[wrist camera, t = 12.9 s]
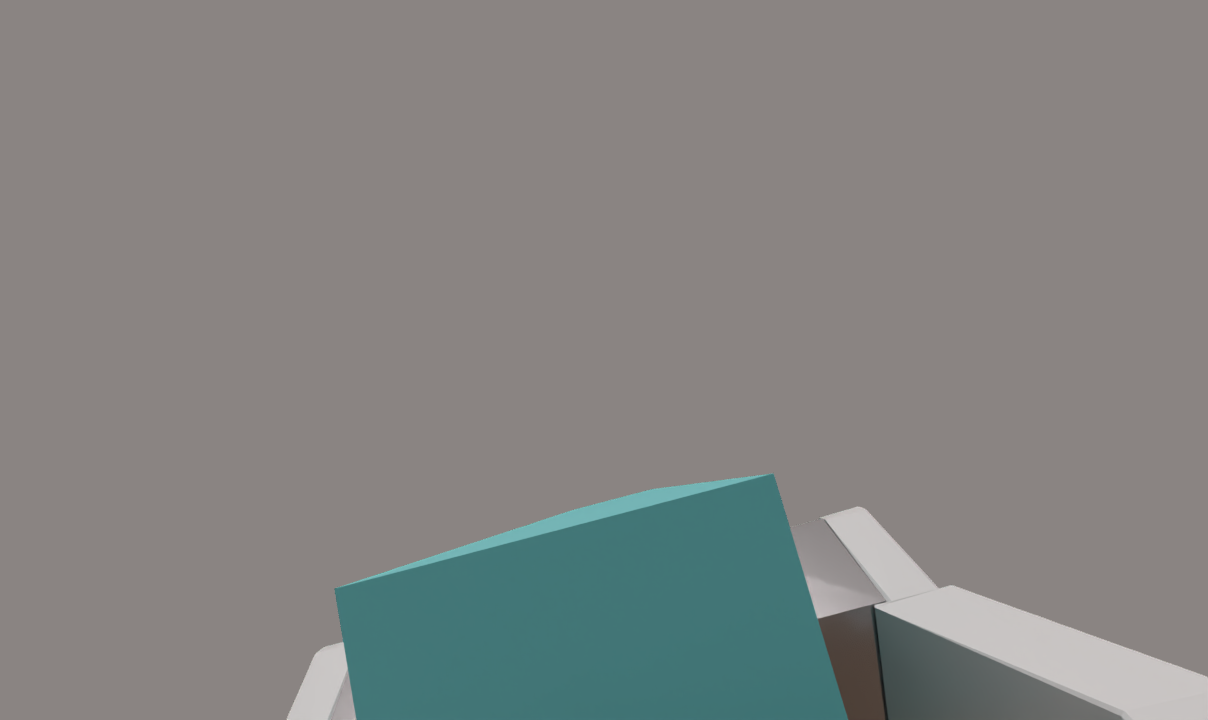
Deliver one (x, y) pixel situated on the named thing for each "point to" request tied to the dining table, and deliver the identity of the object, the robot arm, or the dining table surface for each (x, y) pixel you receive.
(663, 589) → the teal bar
